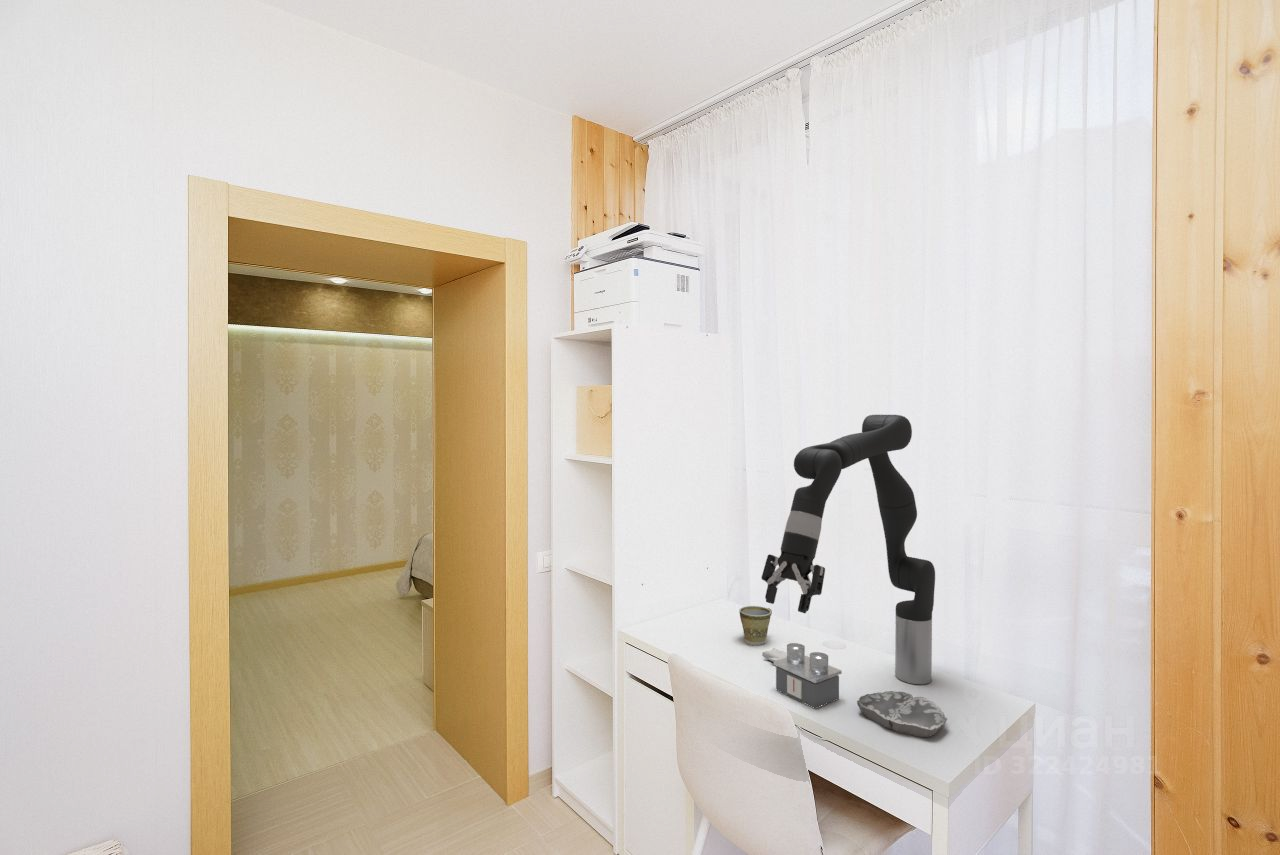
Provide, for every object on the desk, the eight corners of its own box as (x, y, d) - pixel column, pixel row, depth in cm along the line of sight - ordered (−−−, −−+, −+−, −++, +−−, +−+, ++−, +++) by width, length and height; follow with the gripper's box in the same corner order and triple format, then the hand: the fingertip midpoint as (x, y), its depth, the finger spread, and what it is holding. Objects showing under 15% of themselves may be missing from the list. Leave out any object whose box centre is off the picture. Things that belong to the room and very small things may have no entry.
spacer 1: (786, 657, 169) (786, 642, 168) (804, 658, 168) (804, 643, 168) (787, 664, 164) (787, 649, 164) (805, 665, 163) (805, 650, 163)
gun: (754, 651, 183) (775, 643, 189) (753, 662, 183) (775, 654, 190) (806, 674, 169) (828, 665, 176) (806, 687, 169) (827, 677, 176)
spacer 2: (808, 666, 162) (808, 651, 162) (827, 668, 161) (827, 652, 161) (810, 674, 158) (810, 658, 158) (829, 675, 157) (829, 659, 157)
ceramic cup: (756, 650, 193) (756, 618, 192) (732, 640, 200) (732, 609, 200) (783, 640, 201) (783, 609, 201) (759, 631, 209) (759, 602, 208)
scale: (774, 690, 165) (774, 667, 165) (799, 680, 171) (799, 659, 171) (813, 709, 155) (813, 685, 154) (838, 698, 160) (839, 675, 160)
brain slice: (957, 720, 150) (957, 707, 149) (933, 748, 137) (933, 735, 137) (877, 694, 163) (877, 683, 163) (848, 718, 151) (848, 706, 150)
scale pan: (773, 664, 166) (773, 661, 166) (799, 655, 171) (799, 653, 171) (815, 683, 154) (815, 680, 154) (841, 673, 160) (841, 670, 160)
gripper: (838, 543, 135) (822, 618, 132) (785, 533, 146) (769, 602, 143) (819, 535, 131) (802, 613, 128) (766, 526, 142) (749, 597, 139)
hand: (785, 607), depth 135 cm, fingers open, 8 cm apart
